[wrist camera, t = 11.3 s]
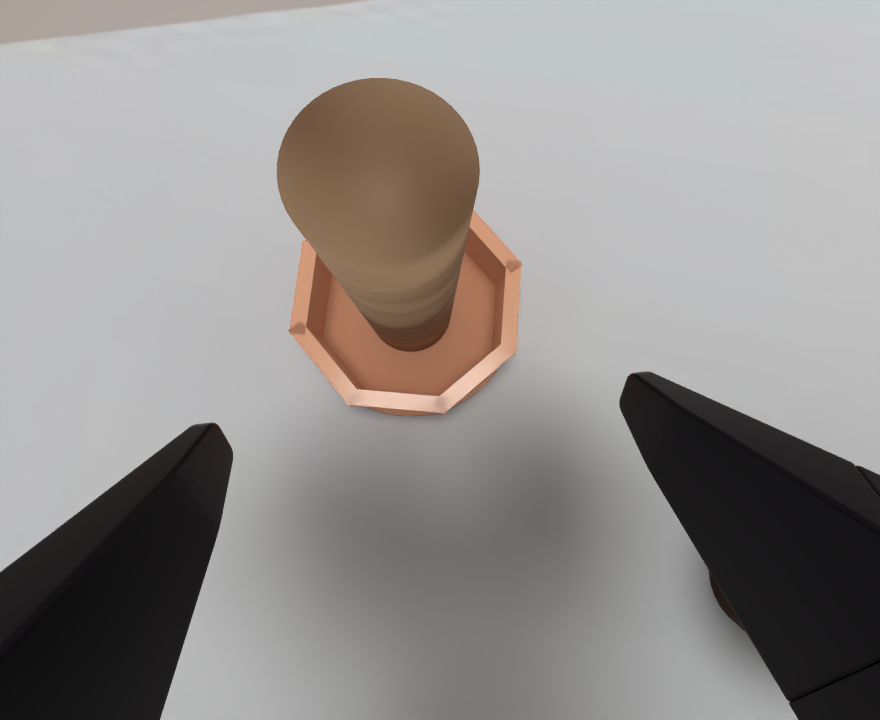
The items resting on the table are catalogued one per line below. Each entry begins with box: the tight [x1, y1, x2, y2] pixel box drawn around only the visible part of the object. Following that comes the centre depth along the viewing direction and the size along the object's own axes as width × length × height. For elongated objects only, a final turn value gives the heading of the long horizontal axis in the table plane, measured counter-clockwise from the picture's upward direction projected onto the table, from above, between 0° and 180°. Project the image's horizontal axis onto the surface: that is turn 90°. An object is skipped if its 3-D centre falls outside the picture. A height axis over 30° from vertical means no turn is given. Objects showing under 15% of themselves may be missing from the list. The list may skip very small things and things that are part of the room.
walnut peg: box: [277, 78, 480, 352], centre depth 15 cm, size 5×5×13 cm
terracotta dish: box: [288, 210, 522, 416], centre depth 20 cm, size 12×12×4 cm
